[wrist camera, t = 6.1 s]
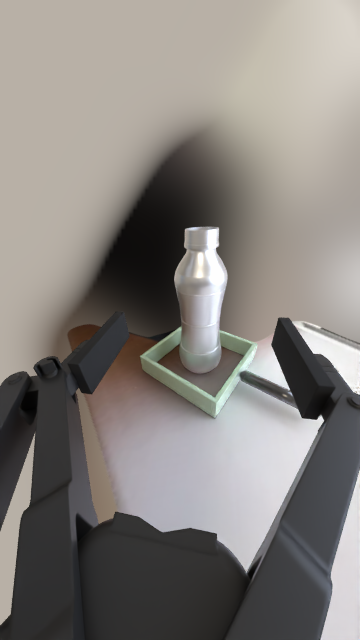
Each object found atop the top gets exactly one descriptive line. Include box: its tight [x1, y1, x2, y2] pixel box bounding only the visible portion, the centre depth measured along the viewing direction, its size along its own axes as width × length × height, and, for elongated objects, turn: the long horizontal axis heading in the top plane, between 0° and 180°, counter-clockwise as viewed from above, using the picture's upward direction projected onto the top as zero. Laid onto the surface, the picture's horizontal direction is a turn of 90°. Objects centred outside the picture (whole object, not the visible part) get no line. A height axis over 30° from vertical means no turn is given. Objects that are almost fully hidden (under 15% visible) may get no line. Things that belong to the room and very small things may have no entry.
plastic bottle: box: [174, 227, 228, 373], centre depth 25 cm, size 6×7×20 cm
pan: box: [140, 326, 322, 418], centre depth 27 cm, size 23×13×3 cm, turn 51°
